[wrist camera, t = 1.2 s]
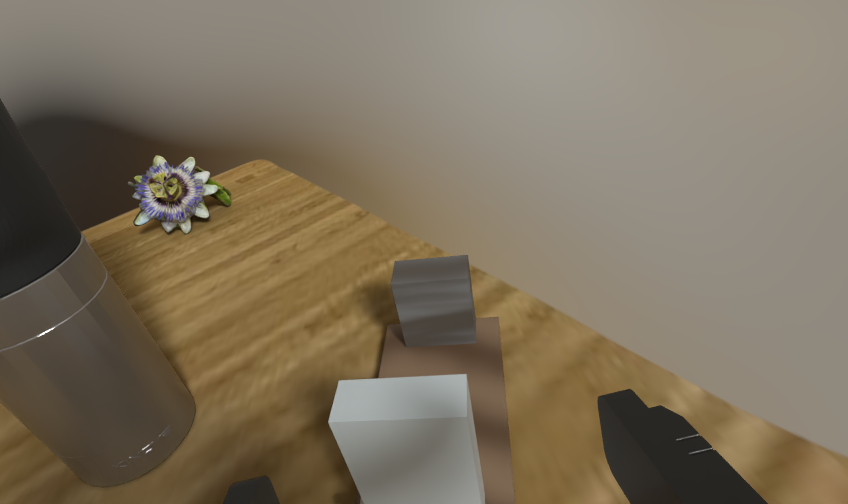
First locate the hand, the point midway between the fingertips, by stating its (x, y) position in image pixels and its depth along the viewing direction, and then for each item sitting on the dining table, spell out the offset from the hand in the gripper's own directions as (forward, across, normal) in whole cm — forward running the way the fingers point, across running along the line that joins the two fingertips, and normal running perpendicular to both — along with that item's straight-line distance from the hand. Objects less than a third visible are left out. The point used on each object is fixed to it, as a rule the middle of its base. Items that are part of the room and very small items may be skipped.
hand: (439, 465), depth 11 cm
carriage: (+16, +3, +14) cm, 22 cm away
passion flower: (+62, +32, 0) cm, 70 cm away
